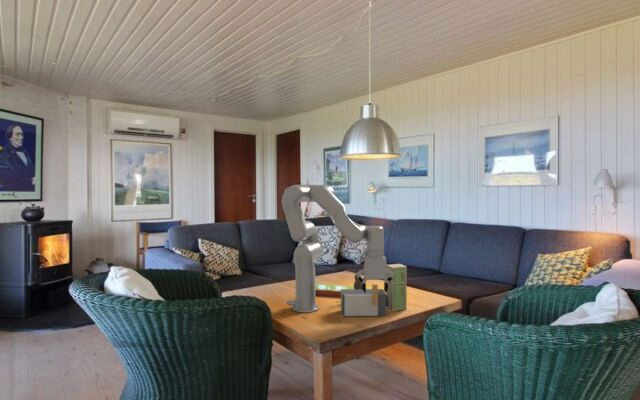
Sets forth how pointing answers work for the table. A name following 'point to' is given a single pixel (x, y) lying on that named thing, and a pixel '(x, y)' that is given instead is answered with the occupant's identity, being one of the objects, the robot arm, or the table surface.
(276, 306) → the table surface
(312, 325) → the table surface
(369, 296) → the side door
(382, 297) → the grey toy microwave
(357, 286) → the brown carved statuette
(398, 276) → the toy refrigerator
